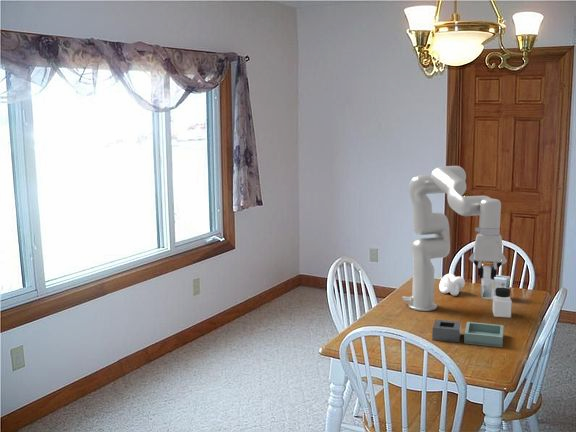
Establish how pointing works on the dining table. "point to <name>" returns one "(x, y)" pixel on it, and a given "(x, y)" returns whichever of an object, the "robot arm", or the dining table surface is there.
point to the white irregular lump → (451, 284)
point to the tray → (484, 334)
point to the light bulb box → (499, 284)
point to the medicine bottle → (502, 303)
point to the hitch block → (446, 330)
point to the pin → (486, 279)
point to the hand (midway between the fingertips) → (486, 277)
